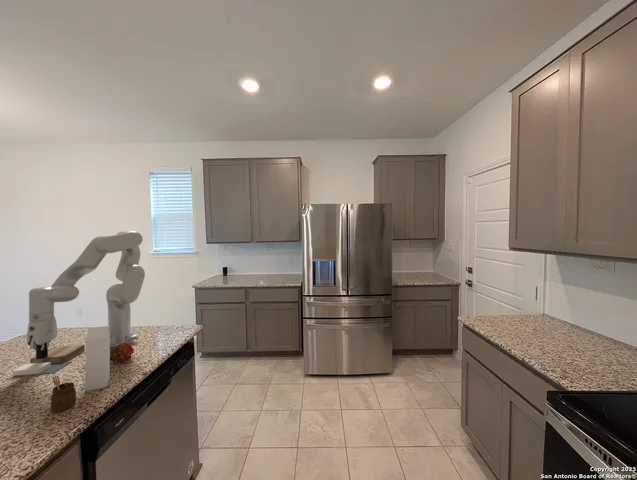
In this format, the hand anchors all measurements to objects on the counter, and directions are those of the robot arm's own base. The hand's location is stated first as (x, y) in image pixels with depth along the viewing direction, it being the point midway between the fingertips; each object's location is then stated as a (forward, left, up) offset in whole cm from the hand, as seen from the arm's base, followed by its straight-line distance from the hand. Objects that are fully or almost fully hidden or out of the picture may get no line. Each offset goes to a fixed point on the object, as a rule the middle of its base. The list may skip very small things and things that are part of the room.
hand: (41, 358), depth 114 cm
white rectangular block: (0, +4, -2) cm, 5 cm away
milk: (-33, +21, -4) cm, 40 cm away
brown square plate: (-1, -9, -4) cm, 10 cm away
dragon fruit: (-31, 0, -4) cm, 31 cm away
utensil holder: (-30, +34, -4) cm, 46 cm away
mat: (-4, +2, -4) cm, 6 cm away
